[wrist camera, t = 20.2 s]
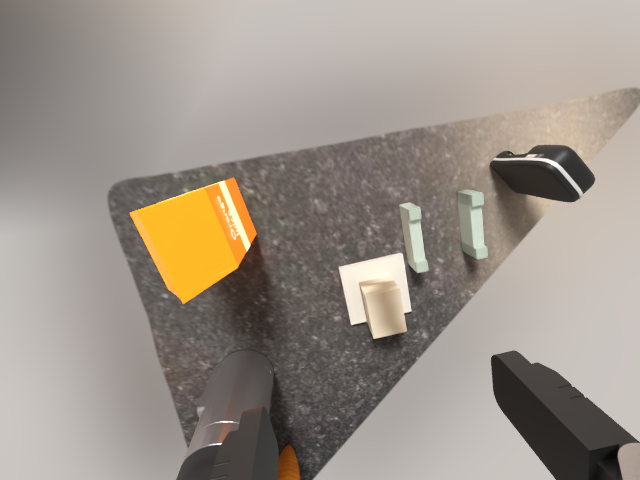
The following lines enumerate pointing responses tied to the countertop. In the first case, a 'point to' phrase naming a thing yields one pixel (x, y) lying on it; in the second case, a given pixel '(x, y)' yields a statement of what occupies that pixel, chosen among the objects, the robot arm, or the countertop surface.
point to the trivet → (370, 271)
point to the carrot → (288, 465)
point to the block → (383, 306)
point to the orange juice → (197, 236)
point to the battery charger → (545, 172)
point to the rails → (468, 227)
